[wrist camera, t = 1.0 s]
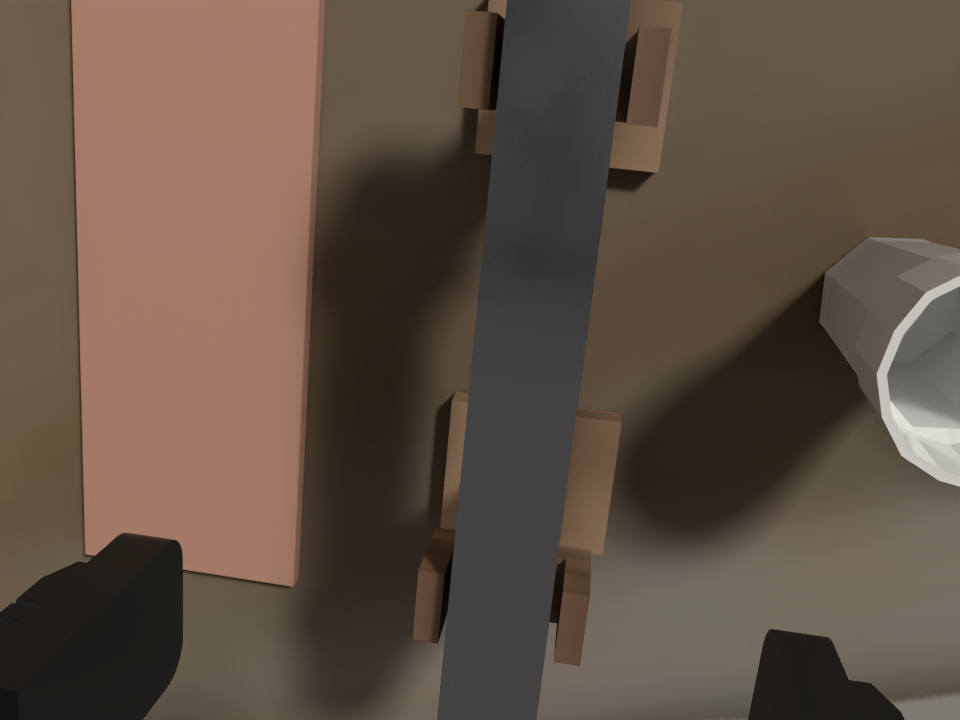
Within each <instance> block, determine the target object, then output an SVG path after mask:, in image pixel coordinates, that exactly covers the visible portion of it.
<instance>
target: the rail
mask: <svg viewBox="0 0 960 720" xmlns="http://www.w3.org/2000/svg"><path fill="white" fill-rule="evenodd" d="M630 5H631V0H507V5H506V15H505V26H504V36H503V46H502V57H501V67H500V77H499V88H498V98H497V108H496V118H495V129H494V139H493V149H492V160H491V170H490V180H489V191H488V201H487V211H486V222H485V232H484V242H483V253H482V263H481V273H480V283H479V294H478V304H477V314H476V325H475V335H474V345H473V356H472V366H471V376H470V387H469V397H468V407H467V418H466V428H465V438H464V449H463V459H462V469H461V479H460V490H459V500H458V510H457V521H456V531H455V541H454V552H453V562H452V572H451V583H450V593H449V603H448V614H447V624H446V634H445V644H444V655H443V665H442V675H441V686H440V696H439V706H438V717H437V720H536V718H537V711H538V703H539V696H540V688H541V681H542V673H543V665H544V658H545V650H546V643H547V635H548V627H549V620H550V612H551V605H552V597H553V589H554V582H555V574H556V567H557V559H558V552H559V544H560V536H561V529H562V521H563V514H564V506H565V498H566V491H567V483H568V476H569V468H570V461H571V453H572V445H573V438H574V430H575V423H576V415H577V407H578V400H579V392H580V385H581V377H582V370H583V362H584V354H585V347H586V339H587V332H588V324H589V316H590V309H591V301H592V294H593V286H594V278H595V271H596V263H597V256H598V248H599V241H600V233H601V225H602V218H603V210H604V203H605V195H606V187H607V180H608V172H609V165H610V157H611V150H612V142H613V134H614V127H615V119H616V112H617V104H618V96H619V89H620V81H621V74H622V66H623V58H624V51H625V43H626V36H627V28H628V21H629V13H630Z"/></svg>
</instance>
